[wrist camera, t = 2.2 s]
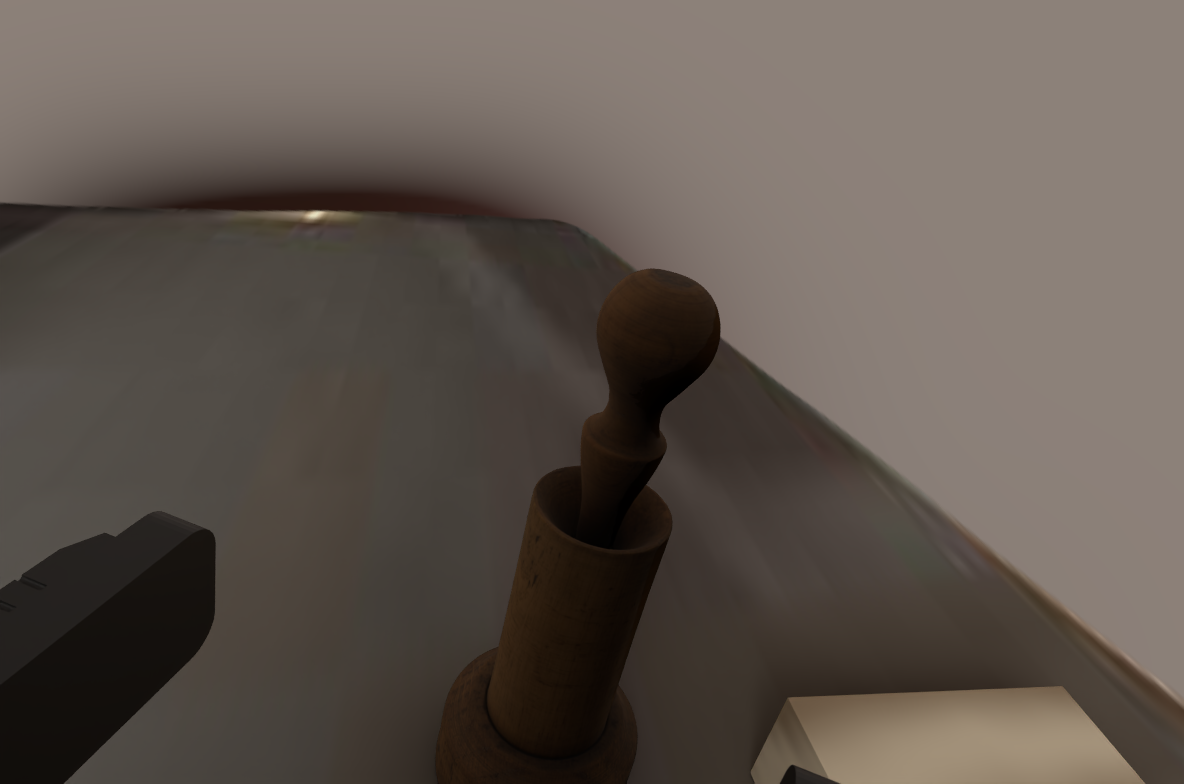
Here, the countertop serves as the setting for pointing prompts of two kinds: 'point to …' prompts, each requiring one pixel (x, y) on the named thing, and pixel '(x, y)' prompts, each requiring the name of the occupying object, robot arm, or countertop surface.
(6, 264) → the countertop surface
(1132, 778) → the plinth
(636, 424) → the mortar and pestle
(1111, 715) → the countertop surface
